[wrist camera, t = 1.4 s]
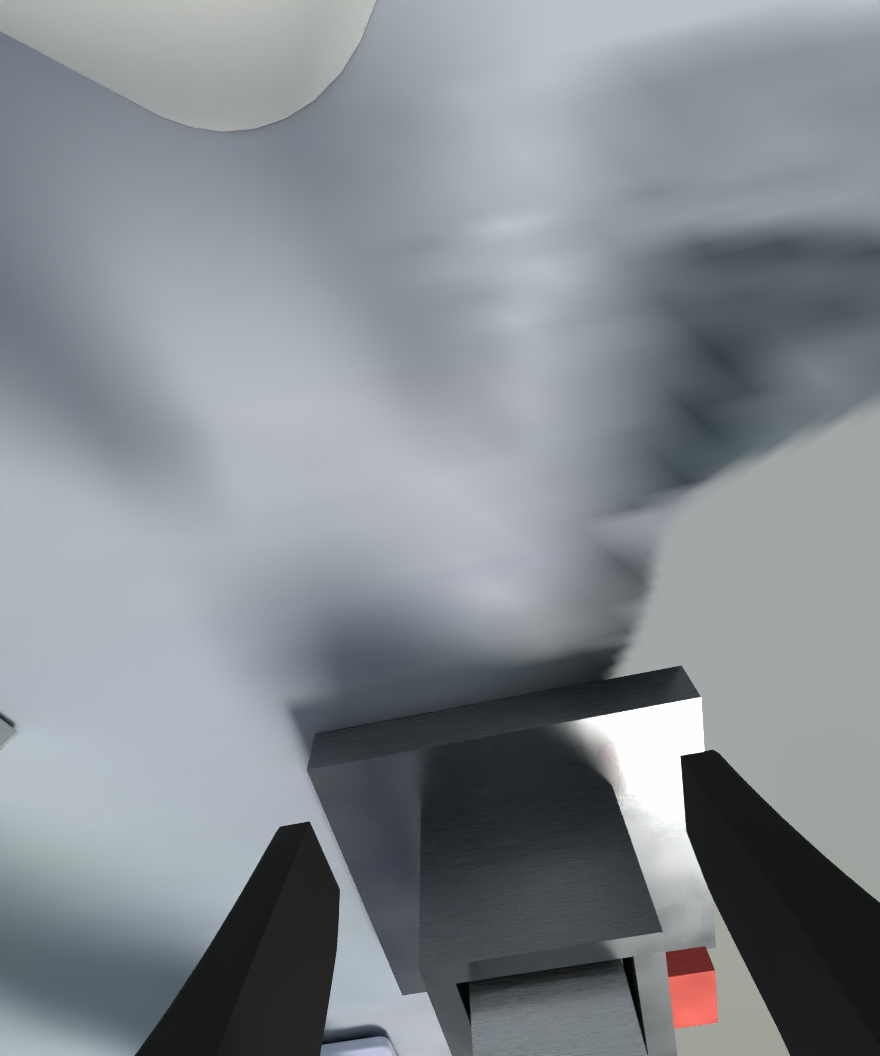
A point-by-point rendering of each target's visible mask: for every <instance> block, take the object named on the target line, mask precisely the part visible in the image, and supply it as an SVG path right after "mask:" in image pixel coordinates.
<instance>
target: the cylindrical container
mask: <svg viewBox="0 0 880 1056" xmlns="http://www.w3.org/2000/svg"><path fill="white" fill-rule="evenodd" d="M375 3H376V0H0V31H1V32H2V33H4V34H6V35H8V36H10V37H12V38H14V39H16V40H17V41H19V42H21V43H23V44H25V45H27V46H29V47H31V48H33V49H34V50H36V51H38V52H40V53H42V54H44V55H46V56H48V57H50V58H51V59H53V60H55V61H57V62H59V63H61V64H63V65H65V66H66V67H68V68H70V69H72V70H74V71H76V72H78V73H80V74H82V75H83V76H85V77H87V78H89V79H91V80H93V81H95V82H97V83H98V84H100V85H102V86H104V87H106V88H108V89H110V90H112V91H114V92H115V93H117V94H119V95H121V96H123V97H125V98H127V99H129V100H131V101H132V102H134V103H136V104H138V105H140V106H142V107H144V108H146V109H147V110H149V111H151V112H153V113H155V114H157V115H159V116H161V117H163V118H166V119H169V120H172V121H175V122H178V123H181V124H184V125H186V126H189V127H193V128H200V129H207V130H214V131H222V132H224V131H236V130H248V129H256V128H259V127H262V126H265V125H268V124H271V123H274V122H277V121H280V120H283V119H286V118H287V117H289V116H290V115H292V114H294V113H295V112H297V111H298V110H300V109H301V108H303V107H305V106H306V105H308V104H309V103H311V102H312V101H314V100H315V99H316V98H317V97H318V96H319V95H320V94H321V93H322V92H323V91H324V90H325V89H326V88H327V87H328V86H329V85H330V84H331V83H332V82H333V81H334V80H335V79H336V78H337V76H338V75H339V74H340V73H341V72H342V70H343V69H344V67H345V65H346V64H347V62H348V60H349V59H350V57H351V56H352V54H353V52H354V51H355V49H356V48H357V46H358V44H359V43H360V41H361V39H362V36H363V34H364V31H365V29H366V26H367V24H368V21H369V18H370V16H371V13H372V11H373V8H374V5H375Z"/></svg>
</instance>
